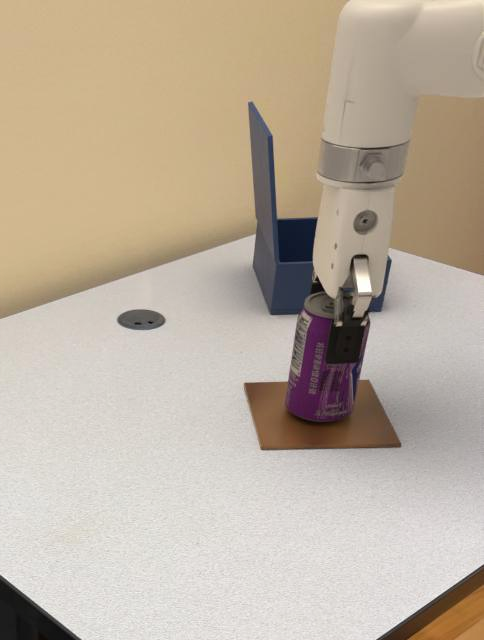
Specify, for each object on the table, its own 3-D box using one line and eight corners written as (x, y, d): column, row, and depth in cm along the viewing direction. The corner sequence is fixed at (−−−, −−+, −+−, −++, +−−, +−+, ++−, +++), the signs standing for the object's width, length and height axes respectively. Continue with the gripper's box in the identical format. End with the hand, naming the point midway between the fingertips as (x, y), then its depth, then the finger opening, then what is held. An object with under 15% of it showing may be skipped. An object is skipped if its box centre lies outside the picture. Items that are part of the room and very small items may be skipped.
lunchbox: (352, 262, 128) (360, 215, 124) (381, 311, 115) (392, 260, 111) (252, 266, 129) (257, 219, 125) (270, 314, 116) (276, 264, 112)
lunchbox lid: (252, 101, 116) (247, 102, 116) (272, 135, 103) (267, 136, 103) (259, 216, 125) (255, 217, 125) (279, 260, 112) (274, 261, 112)
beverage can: (339, 433, 92) (361, 322, 85) (274, 417, 96) (289, 309, 88) (361, 404, 97) (383, 296, 89) (298, 390, 100) (314, 284, 92)
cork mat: (368, 382, 101) (369, 379, 101) (400, 446, 91) (401, 443, 90) (243, 385, 102) (243, 382, 102) (260, 449, 92) (261, 446, 91)
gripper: (432, 187, 73) (389, 379, 84) (380, 133, 86) (349, 305, 97) (339, 191, 74) (308, 381, 85) (301, 137, 87) (279, 307, 98)
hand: (330, 340), depth 91 cm, fingers open, 9 cm apart
